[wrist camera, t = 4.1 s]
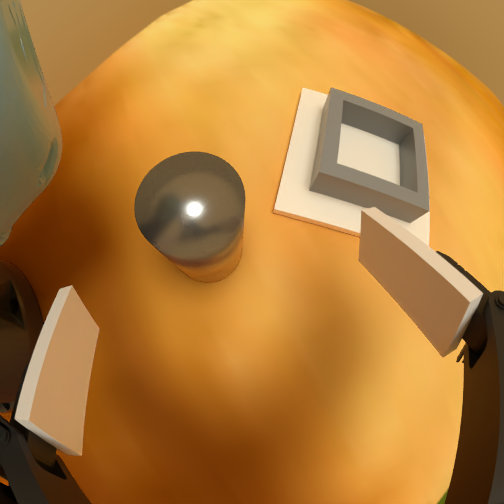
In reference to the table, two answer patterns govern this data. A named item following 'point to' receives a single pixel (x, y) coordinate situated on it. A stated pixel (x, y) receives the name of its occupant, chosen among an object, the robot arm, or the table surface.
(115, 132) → the table surface
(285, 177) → the square socket
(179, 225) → the glossy bronze cylinder
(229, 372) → the table surface
